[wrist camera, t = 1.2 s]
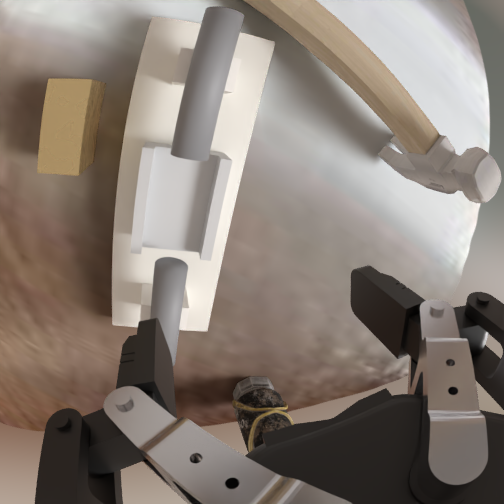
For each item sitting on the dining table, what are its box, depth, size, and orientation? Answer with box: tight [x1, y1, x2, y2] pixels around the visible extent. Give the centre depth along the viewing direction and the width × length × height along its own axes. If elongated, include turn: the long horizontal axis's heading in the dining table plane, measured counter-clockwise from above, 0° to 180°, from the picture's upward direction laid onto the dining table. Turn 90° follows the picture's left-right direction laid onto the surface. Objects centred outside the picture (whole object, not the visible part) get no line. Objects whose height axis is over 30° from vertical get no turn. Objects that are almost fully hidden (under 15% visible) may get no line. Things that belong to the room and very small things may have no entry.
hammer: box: [243, 0, 501, 203], centre depth 24 cm, size 16×5×30 cm
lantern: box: [232, 377, 294, 452], centre depth 38 cm, size 9×8×25 cm
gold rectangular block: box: [37, 79, 106, 176], centre depth 22 cm, size 4×8×6 cm, turn 166°
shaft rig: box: [112, 7, 275, 366], centre depth 27 cm, size 12×34×8 cm, turn 166°
